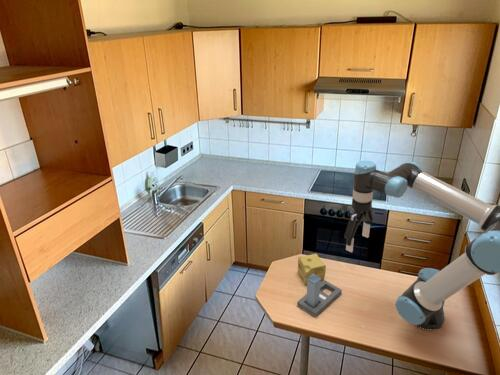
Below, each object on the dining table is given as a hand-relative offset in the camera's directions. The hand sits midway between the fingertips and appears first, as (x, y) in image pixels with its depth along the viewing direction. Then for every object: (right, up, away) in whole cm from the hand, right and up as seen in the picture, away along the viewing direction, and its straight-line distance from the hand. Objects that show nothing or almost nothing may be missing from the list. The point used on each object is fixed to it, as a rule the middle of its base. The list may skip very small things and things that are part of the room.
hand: (357, 243), depth 158 cm
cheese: (-15, -21, +28) cm, 38 cm away
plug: (-17, -29, +10) cm, 36 cm away
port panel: (-13, -28, +13) cm, 34 cm away
